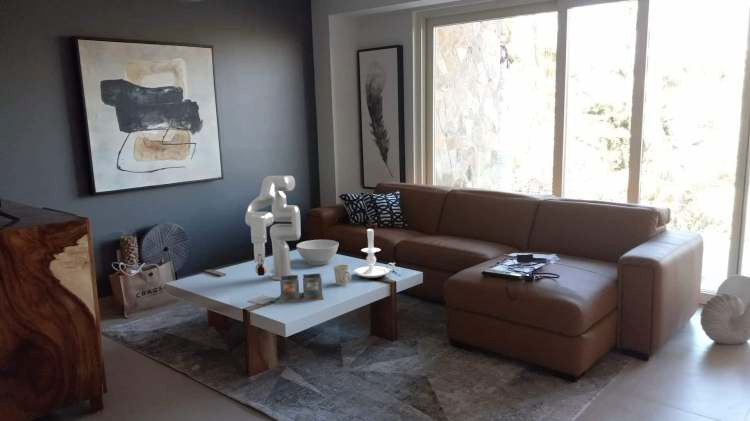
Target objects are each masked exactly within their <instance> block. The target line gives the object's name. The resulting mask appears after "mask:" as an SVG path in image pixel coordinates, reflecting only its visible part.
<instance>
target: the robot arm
mask: <svg viewBox="0 0 750 421" xmlns="http://www.w3.org/2000/svg"><path fill="white" fill-rule="evenodd" d="M295 187H296V179H295V177H294V176H293V175H269V176H266V177H264V179H263V181H262V184H261V189H260V192H259V195H258V196H257V197H256V198H254V199H253V200H252V201H251V202H250V203H249V204H248V206H247V209H246V213H245V218H244V219H245V220H244V221H245V224H246V225H247V226H248V227H250V237H251V243H252V244H253V256H254V263H255V264H256V263H257V264H258V268H257V269H258V274H257V276H259V277H261V276H265V274H264V267H263V264H265V258H266V247H265V244H266V243H267V241H268V239H267V237H268V236H267V227H270V226H271V227H270V229H269V235H270V239H271V245H272V247H271V248H272V259H273V260H272V261H273V268H272V269H270V271H269V272H270V274H271V273H272V275H271V279H272V280H273V281H280V276H288V275H294V274H293V273H291V259H290V258H291V256H290V247H289V244H288V243H287V241H289V242H290V241H299V240H300V238H301V235H302V233H301V232H302V231H301V229H302V228H301V211H300V208H299V207H298V206H297V205H296V204H295V205H294V204H287V195H286V193H285V192H290V191H293V190H295ZM270 206H271V212H270V211H259V210H262V209H264V208H267V207H270ZM274 222H278V223H276V224H274ZM279 222H281V223H279ZM282 222H283V223H282ZM285 222H286V223H285ZM287 222H291V223H287ZM261 263H262V264H261Z"/></svg>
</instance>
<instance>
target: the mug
mask: <svg viewBox="0 0 750 421" xmlns="http://www.w3.org/2000/svg"><path fill="white" fill-rule="evenodd" d="M349 268H350V267H349V265H348V264H345V263H343V264H335V265H334V266H333V271H334V279H335V283H336V285H337V286H345V285H347V284H349V283H350V282H351V281H352V274H351V273H350V271H349ZM348 277H349V278H348Z"/></svg>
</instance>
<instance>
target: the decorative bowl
mask: <svg viewBox="0 0 750 421" xmlns="http://www.w3.org/2000/svg"><path fill="white" fill-rule="evenodd" d="M338 248H339V242H338V241H336V240H332V239H313V240H312V239H311V240H305V241H301V242H299V243H297V244H296V250H297V252H298V254H299V255H300V257H301V258H302V259H303V260H305V261H306V262H308V264H309V265H312V266H320V265H323V266H324V265H326V264H328V263H329V261H330V260H332V259H333V257H335V255H336V254H337V251H338Z"/></svg>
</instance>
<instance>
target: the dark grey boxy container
mask: <svg viewBox="0 0 750 421" xmlns="http://www.w3.org/2000/svg"><path fill="white" fill-rule="evenodd" d="M321 274H322V273H318V272H317V273H306V274H305V273H304V274H302V287H303V292H300V284H299V283H300V279H299V274H293V275H288V276H280V280H279V282H280V283H279V284H280V294H279V302H280V303H288V302H289V303H292V302H302V301H303V302H304V301H318V300H320V301H321V300H324V294H323V286H322V285H323V284H322V280H323V279H322V275H321Z"/></svg>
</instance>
